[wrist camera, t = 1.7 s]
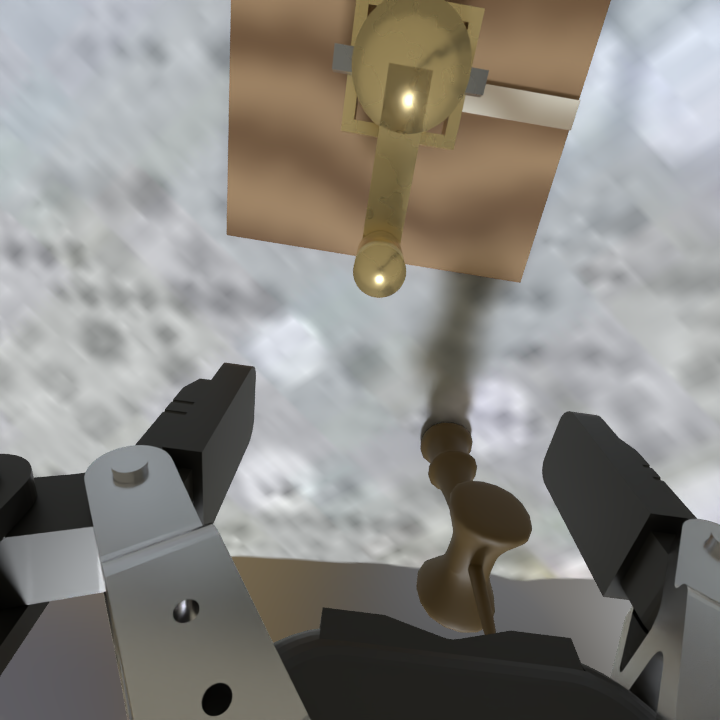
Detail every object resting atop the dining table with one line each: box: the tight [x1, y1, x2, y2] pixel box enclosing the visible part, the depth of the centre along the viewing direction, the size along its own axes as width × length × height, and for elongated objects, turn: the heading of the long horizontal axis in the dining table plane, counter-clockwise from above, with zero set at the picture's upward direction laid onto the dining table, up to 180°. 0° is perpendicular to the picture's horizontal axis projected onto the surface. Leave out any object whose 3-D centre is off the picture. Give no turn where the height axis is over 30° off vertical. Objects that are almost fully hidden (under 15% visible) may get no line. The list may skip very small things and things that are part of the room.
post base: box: [227, 0, 611, 282], centre depth 28 cm, size 24×24×6 cm
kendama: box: [417, 422, 532, 635], centre depth 34 cm, size 6×10×20 cm, turn 169°
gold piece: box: [332, 0, 489, 298], centre depth 24 cm, size 15×9×9 cm, turn 171°
